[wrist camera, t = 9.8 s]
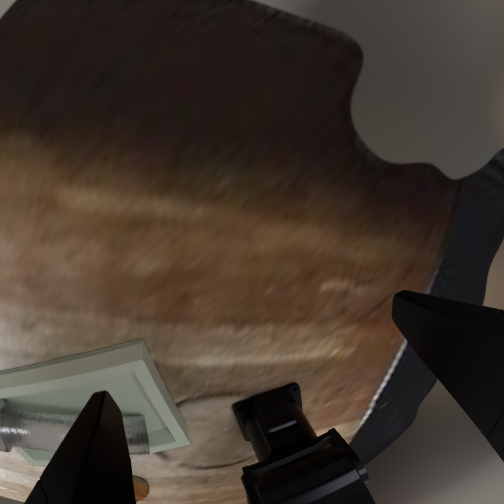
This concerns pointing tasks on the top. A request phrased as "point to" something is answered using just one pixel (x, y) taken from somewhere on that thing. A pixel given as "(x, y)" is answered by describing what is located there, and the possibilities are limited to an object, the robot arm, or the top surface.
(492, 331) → the robot arm
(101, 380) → the tray
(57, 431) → the pin
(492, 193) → the top surface
